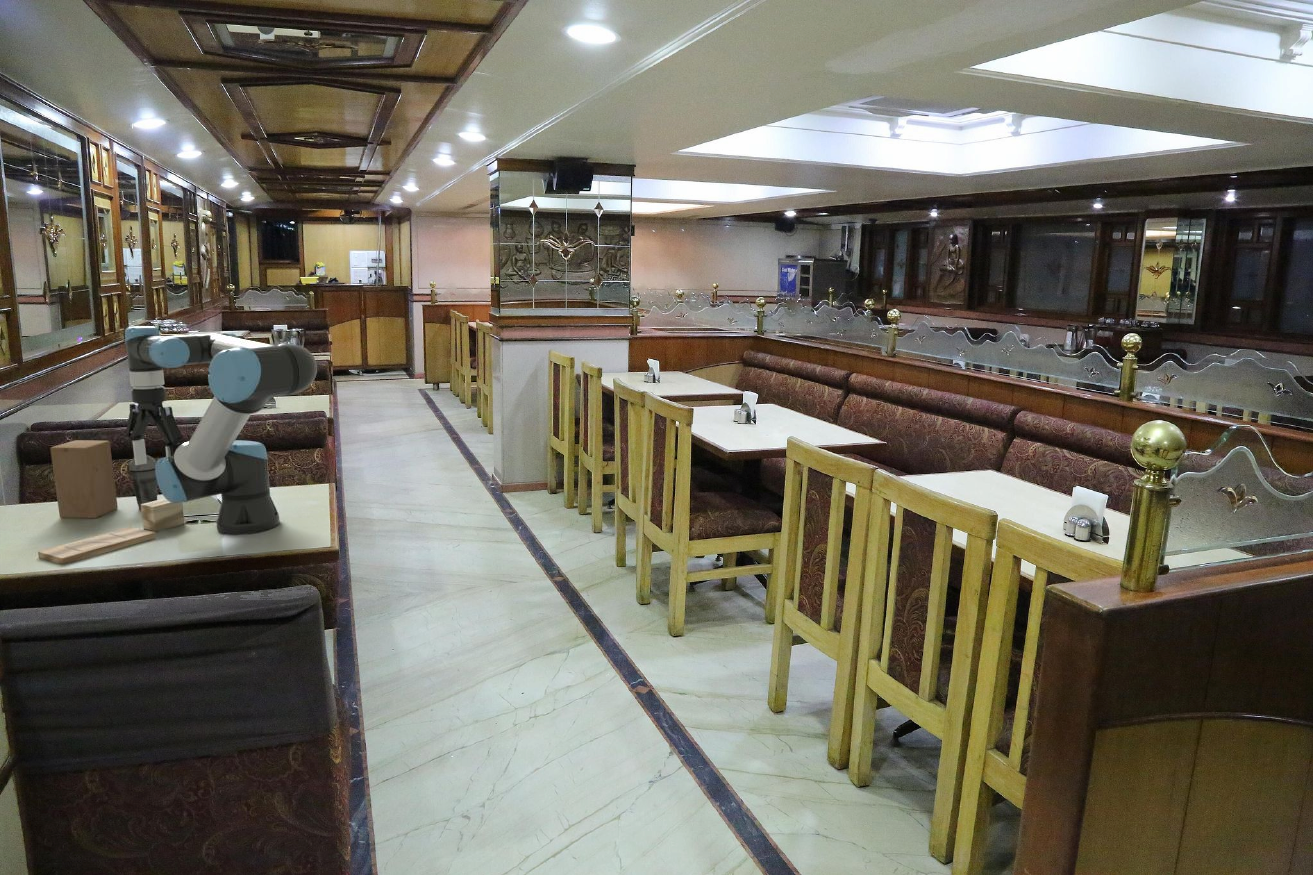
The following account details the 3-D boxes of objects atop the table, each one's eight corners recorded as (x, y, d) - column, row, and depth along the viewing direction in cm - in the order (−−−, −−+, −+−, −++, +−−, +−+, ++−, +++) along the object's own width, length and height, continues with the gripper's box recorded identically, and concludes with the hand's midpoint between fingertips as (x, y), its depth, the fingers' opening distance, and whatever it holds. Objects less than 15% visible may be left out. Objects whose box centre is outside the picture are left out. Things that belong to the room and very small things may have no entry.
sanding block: (184, 524, 226) (181, 499, 224) (155, 532, 218) (152, 506, 217) (172, 521, 228) (169, 497, 226) (143, 529, 221) (140, 504, 219)
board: (155, 538, 214) (154, 532, 214) (63, 564, 195) (62, 558, 194) (131, 532, 218) (130, 526, 218) (38, 557, 199) (37, 551, 199)
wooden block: (94, 519, 229) (85, 447, 226) (59, 518, 230) (49, 447, 226) (118, 508, 239) (110, 440, 235) (84, 508, 239) (75, 439, 236)
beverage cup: (167, 507, 241) (160, 439, 237) (140, 513, 235) (132, 443, 231) (155, 503, 245) (147, 436, 241) (128, 508, 239) (120, 440, 235)
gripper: (193, 388, 213) (201, 469, 218) (132, 381, 224) (141, 459, 229) (165, 392, 207) (174, 475, 211) (103, 385, 218) (113, 464, 222)
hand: (157, 467), depth 220 cm, fingers open, 13 cm apart
